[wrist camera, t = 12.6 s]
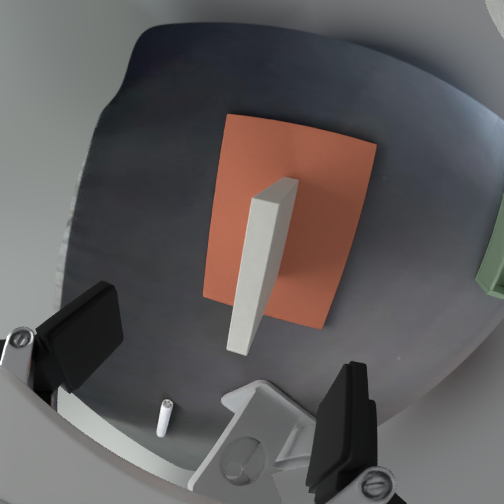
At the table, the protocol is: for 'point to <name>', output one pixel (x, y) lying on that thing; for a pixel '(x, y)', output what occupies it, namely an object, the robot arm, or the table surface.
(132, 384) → the table surface
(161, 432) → the marker
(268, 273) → the board
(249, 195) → the mat
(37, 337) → the robot arm
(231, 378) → the table surface
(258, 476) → the phone holder
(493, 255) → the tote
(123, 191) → the table surface
